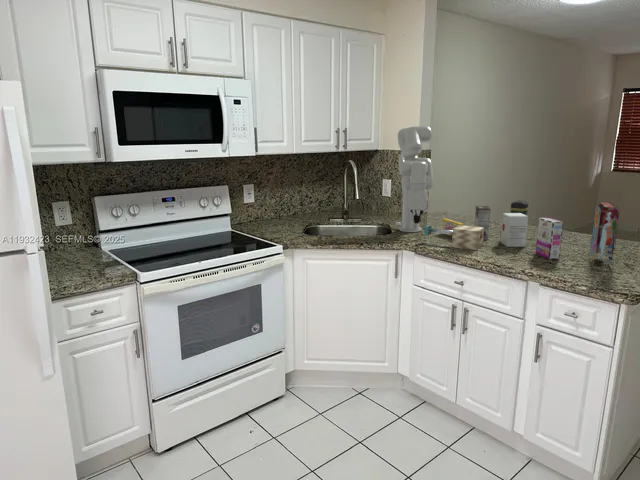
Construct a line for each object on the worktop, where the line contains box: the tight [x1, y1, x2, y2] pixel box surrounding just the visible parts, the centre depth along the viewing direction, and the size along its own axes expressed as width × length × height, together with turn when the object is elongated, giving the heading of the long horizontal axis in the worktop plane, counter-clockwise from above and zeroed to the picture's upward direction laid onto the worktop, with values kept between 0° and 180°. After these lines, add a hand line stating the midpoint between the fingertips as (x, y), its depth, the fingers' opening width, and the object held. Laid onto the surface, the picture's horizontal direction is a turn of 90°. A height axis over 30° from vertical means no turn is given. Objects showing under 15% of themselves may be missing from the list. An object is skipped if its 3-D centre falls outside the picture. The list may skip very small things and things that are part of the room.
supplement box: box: [500, 212, 529, 248], centre depth 218 cm, size 9×9×15 cm
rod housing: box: [451, 225, 484, 251], centre depth 217 cm, size 12×10×9 cm
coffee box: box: [474, 205, 491, 241], centre depth 234 cm, size 9×6×16 cm
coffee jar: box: [509, 199, 529, 216], centre depth 237 cm, size 10×8×19 cm
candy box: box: [442, 218, 465, 237], centre depth 240 cm, size 16×2×8 cm, turn 19°
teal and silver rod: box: [423, 224, 453, 236], centre depth 223 cm, size 18×4×4 cm, turn 57°
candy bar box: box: [535, 217, 564, 260], centre depth 197 cm, size 11×5×16 cm, turn 5°
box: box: [589, 201, 620, 270], centre depth 188 cm, size 25×6×24 cm, turn 156°
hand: (416, 223), depth 229 cm, fingers closed
